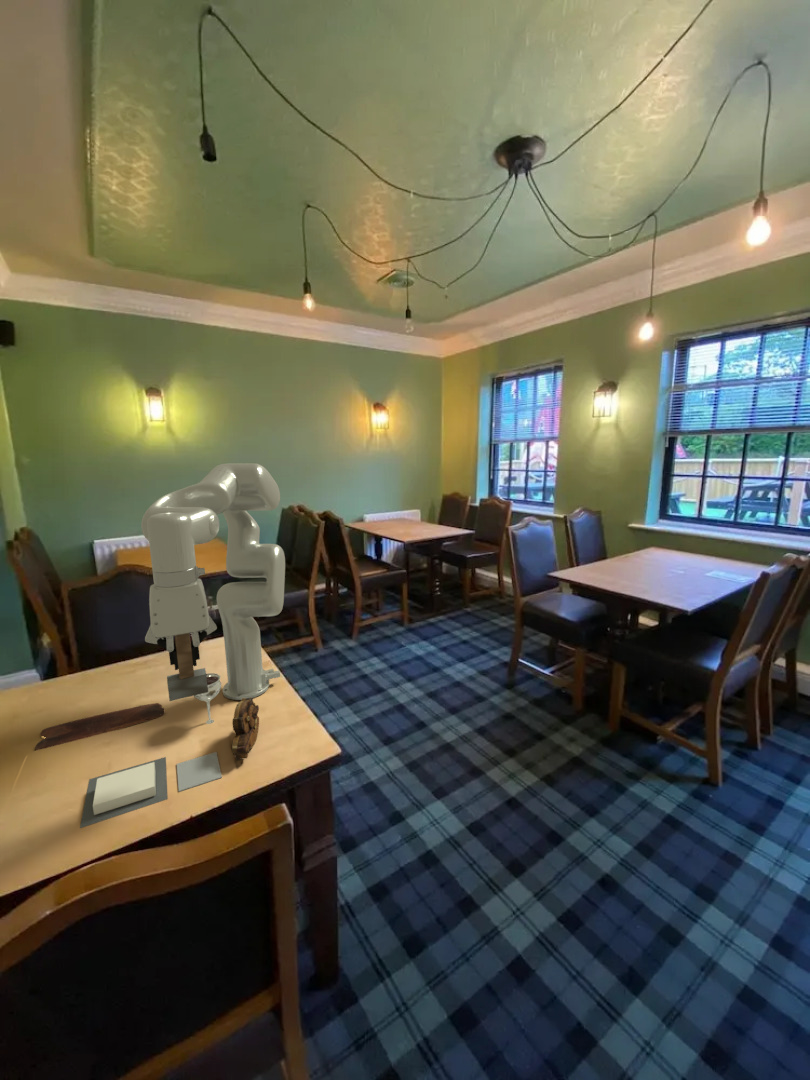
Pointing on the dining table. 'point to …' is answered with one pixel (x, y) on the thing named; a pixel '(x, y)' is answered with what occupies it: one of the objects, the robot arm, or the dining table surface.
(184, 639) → the brown grey t-shaped piece
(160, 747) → the dining table surface
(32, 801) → the dining table surface
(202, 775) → the pad
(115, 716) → the wooden tablet
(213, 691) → the wineglass
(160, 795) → the rubber mat
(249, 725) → the wooden carving
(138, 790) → the tile
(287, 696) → the dining table surface
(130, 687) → the dining table surface
